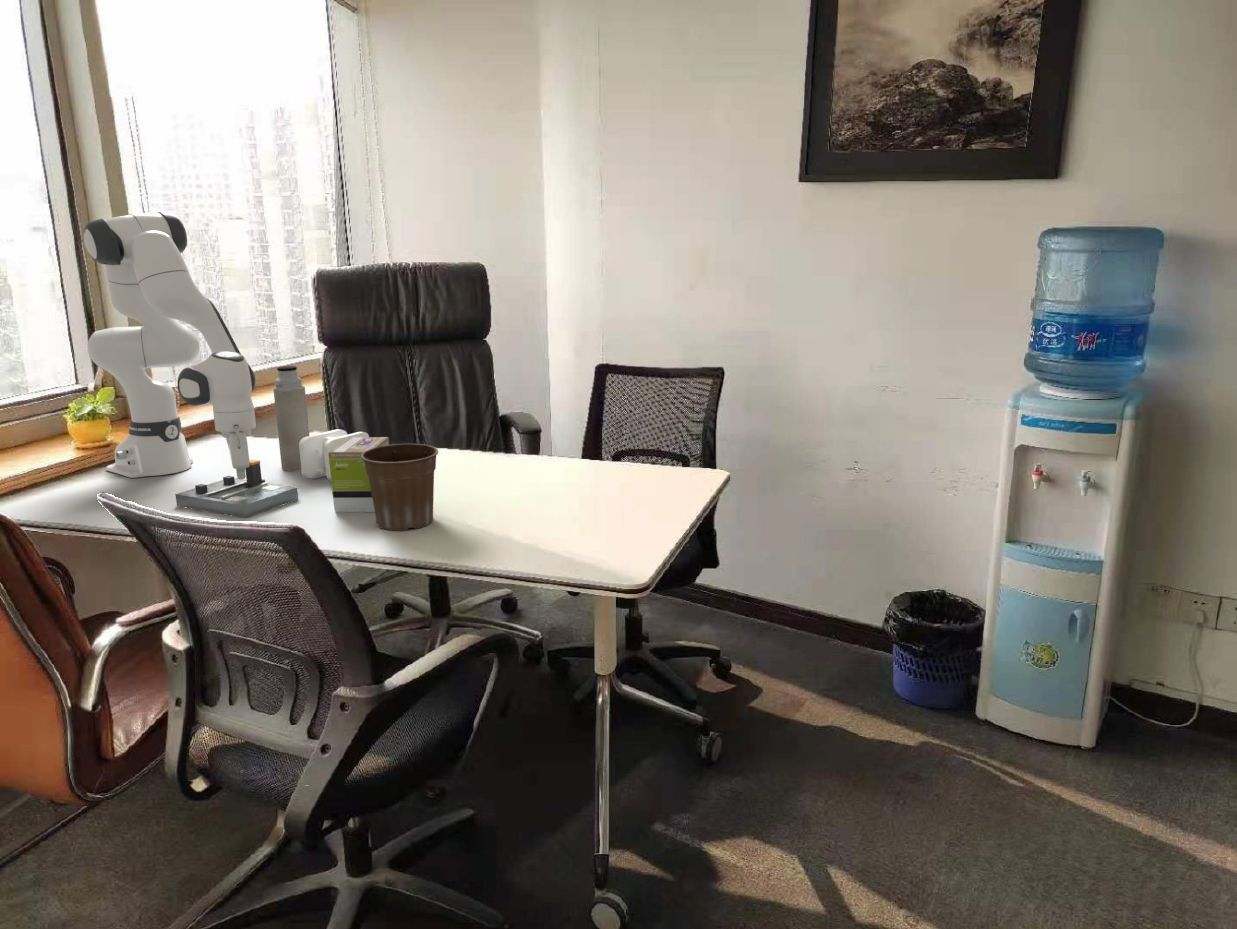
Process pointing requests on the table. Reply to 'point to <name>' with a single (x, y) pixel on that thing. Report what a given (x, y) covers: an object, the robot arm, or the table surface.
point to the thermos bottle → (290, 416)
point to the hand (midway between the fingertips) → (241, 478)
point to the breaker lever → (253, 473)
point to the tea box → (352, 474)
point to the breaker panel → (236, 497)
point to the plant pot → (401, 484)
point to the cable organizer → (321, 451)
